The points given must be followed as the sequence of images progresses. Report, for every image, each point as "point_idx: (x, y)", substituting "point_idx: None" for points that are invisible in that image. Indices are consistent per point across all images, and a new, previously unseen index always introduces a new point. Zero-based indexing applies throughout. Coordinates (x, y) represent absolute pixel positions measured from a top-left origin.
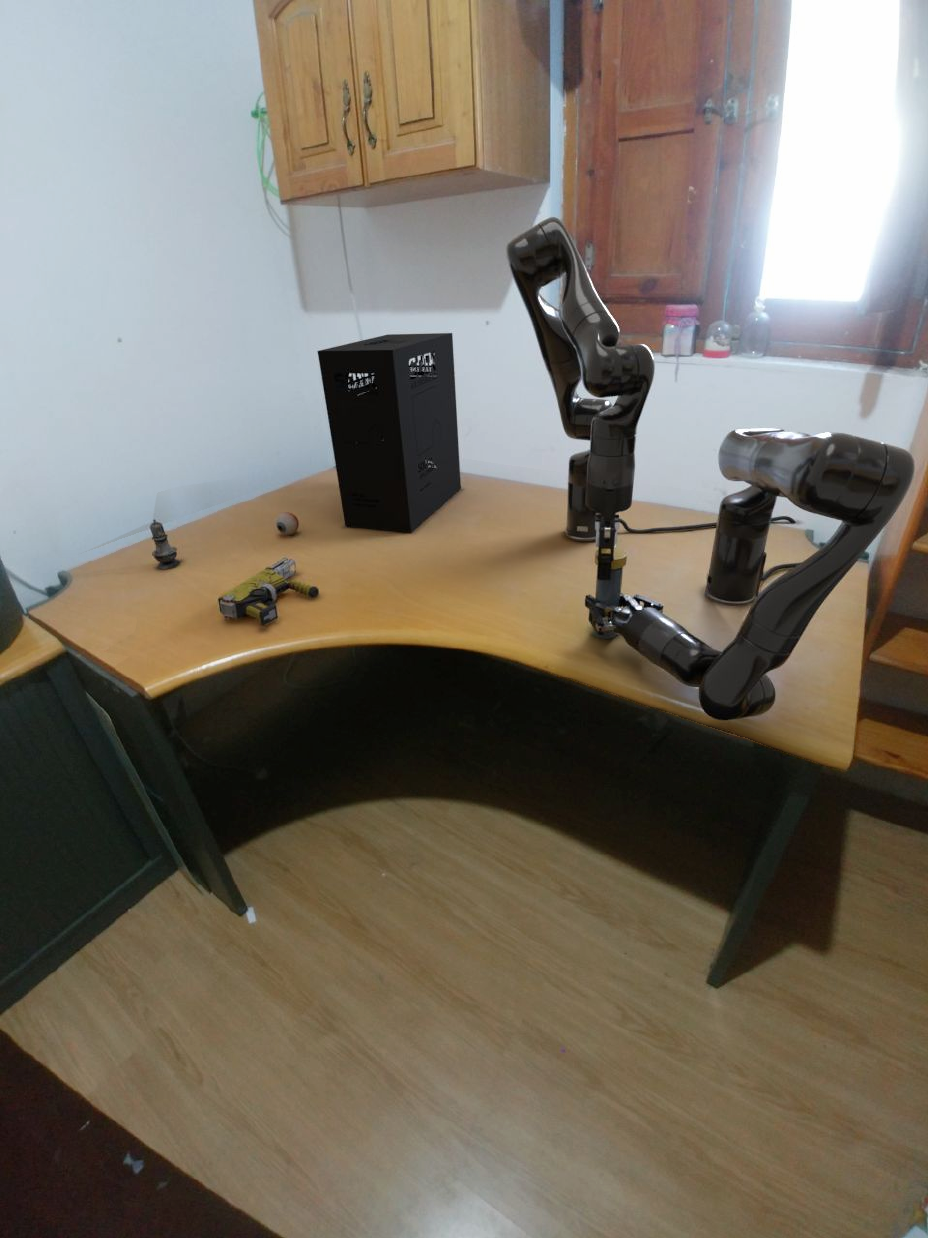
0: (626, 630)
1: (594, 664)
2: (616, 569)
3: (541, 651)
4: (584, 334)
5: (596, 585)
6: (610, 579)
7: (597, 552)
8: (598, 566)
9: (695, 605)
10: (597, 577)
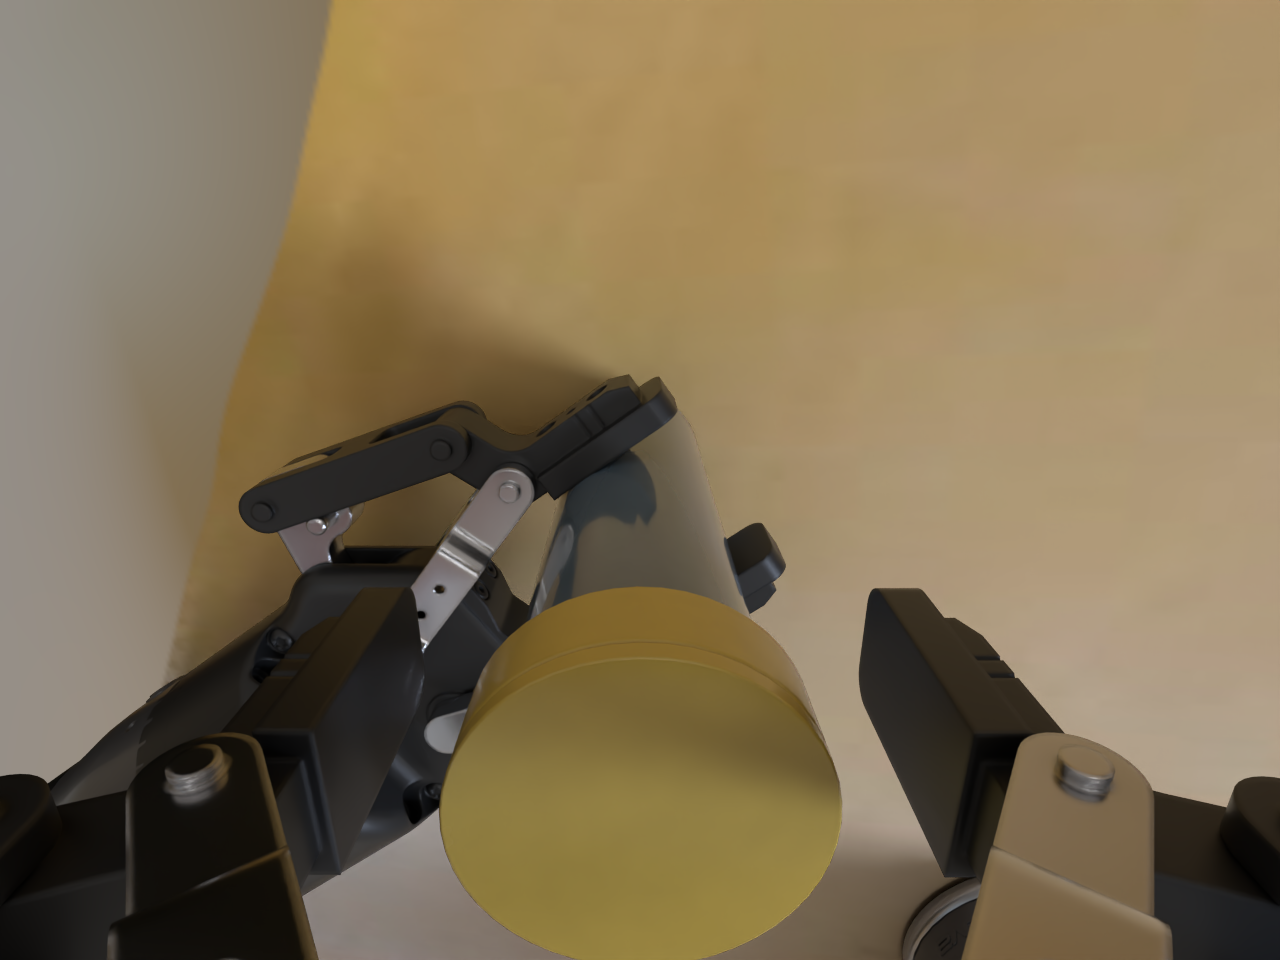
0: (241, 643)
1: (325, 406)
2: None
3: (375, 99)
4: None
5: (612, 505)
6: None
7: (652, 681)
8: (302, 674)
9: (919, 825)
10: (364, 591)
